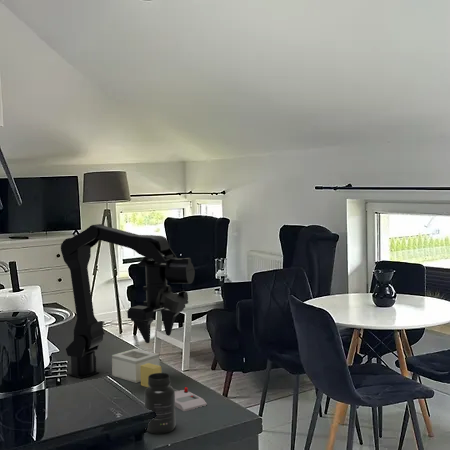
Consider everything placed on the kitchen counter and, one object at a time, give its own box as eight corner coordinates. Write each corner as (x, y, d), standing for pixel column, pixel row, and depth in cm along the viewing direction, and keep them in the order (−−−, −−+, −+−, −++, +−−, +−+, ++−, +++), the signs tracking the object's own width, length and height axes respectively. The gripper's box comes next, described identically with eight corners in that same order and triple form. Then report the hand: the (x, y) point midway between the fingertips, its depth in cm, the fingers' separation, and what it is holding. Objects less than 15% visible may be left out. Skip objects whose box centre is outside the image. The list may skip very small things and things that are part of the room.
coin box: (136, 382, 170) (135, 361, 170) (112, 375, 176) (111, 355, 176) (159, 374, 177) (159, 354, 176) (136, 368, 183) (135, 348, 183)
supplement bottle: (141, 425, 140) (140, 373, 140) (170, 420, 143) (169, 369, 142) (149, 436, 134) (147, 382, 133) (179, 431, 136) (178, 378, 136)
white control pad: (187, 415, 147) (187, 403, 147) (156, 397, 160) (156, 385, 160) (211, 409, 151) (211, 397, 151) (178, 391, 164) (178, 380, 163)
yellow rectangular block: (153, 389, 165) (153, 368, 164) (140, 385, 168) (140, 365, 168) (161, 386, 167) (161, 366, 167) (149, 382, 170) (148, 363, 170)
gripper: (158, 289, 156) (160, 350, 157) (200, 279, 172) (201, 334, 173) (125, 286, 162) (127, 345, 163) (168, 277, 178) (169, 330, 179)
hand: (158, 339), depth 169 cm, fingers open, 9 cm apart
